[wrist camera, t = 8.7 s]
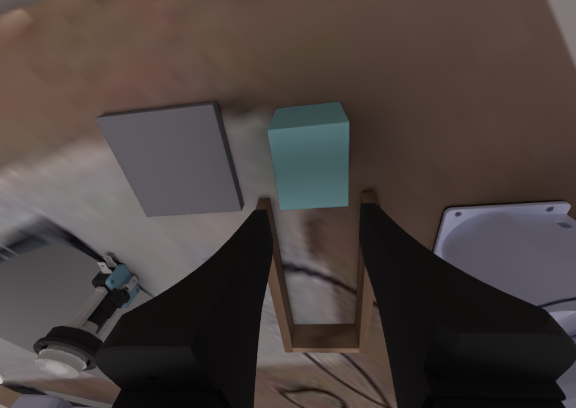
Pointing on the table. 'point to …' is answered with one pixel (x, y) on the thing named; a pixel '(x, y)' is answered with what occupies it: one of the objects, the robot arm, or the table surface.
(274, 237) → the channel
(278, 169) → the block
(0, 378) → the panda figurine
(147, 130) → the pad
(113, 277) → the push button
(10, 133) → the table surface
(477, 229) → the robot arm
